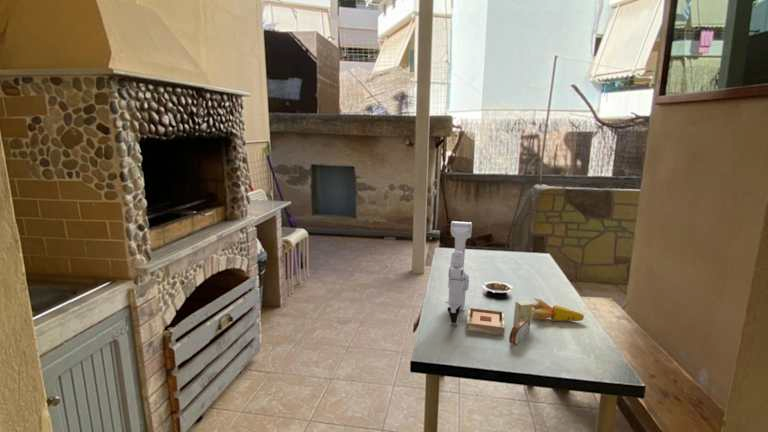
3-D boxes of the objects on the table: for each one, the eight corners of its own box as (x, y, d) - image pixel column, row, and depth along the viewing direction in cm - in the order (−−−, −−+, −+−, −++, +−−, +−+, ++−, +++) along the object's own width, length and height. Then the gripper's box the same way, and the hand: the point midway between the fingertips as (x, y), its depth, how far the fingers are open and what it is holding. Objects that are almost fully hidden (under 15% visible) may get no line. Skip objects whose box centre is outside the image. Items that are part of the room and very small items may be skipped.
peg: (450, 322, 191) (450, 309, 189) (457, 323, 190) (458, 309, 188) (449, 326, 187) (450, 312, 186) (457, 327, 187) (457, 313, 185)
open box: (468, 315, 198) (469, 307, 198) (503, 319, 194) (503, 311, 194) (466, 331, 183) (466, 322, 182) (503, 336, 179) (504, 327, 179)
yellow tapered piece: (580, 331, 191) (525, 319, 196) (578, 317, 197) (525, 305, 201) (586, 321, 186) (529, 309, 190) (584, 307, 192) (529, 295, 196)
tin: (521, 332, 183) (523, 314, 181) (528, 334, 181) (530, 317, 179) (507, 346, 171) (509, 328, 169) (515, 349, 169) (516, 330, 168)
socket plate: (472, 316, 196) (473, 311, 195) (498, 319, 193) (499, 314, 192) (471, 328, 185) (471, 323, 184) (499, 331, 182) (499, 326, 181)
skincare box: (518, 330, 184) (520, 305, 181) (512, 326, 188) (514, 301, 185) (530, 328, 186) (533, 303, 183) (525, 324, 190) (527, 299, 187)
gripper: (448, 285, 193) (446, 312, 196) (444, 298, 179) (443, 326, 182) (463, 287, 191) (461, 314, 194) (460, 300, 177) (459, 328, 180)
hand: (453, 320), depth 188 cm, fingers closed on peg, 3 cm apart
